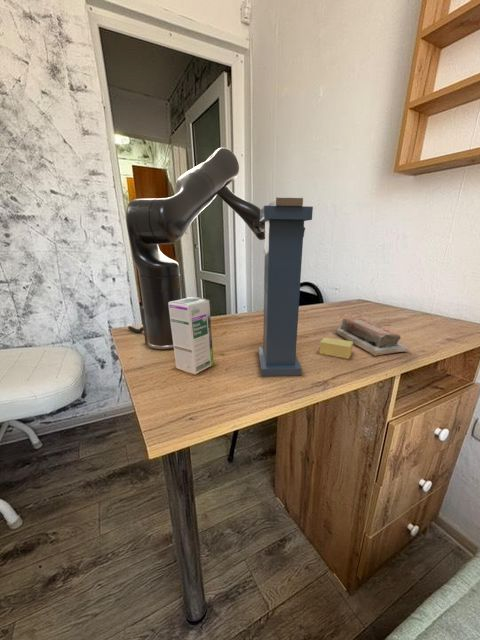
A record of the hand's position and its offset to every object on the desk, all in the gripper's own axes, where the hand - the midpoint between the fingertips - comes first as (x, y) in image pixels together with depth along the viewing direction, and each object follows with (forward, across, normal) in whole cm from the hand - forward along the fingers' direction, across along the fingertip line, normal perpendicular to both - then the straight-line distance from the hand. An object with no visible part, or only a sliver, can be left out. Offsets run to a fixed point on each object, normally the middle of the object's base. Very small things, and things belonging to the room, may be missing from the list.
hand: (279, 222), depth 76 cm
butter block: (+10, +19, +30) cm, 37 cm away
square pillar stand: (+16, +5, +34) cm, 38 cm away
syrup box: (+19, -12, +37) cm, 44 cm away
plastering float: (+1, +29, +27) cm, 39 cm away
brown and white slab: (+19, 0, +3) cm, 19 cm away
